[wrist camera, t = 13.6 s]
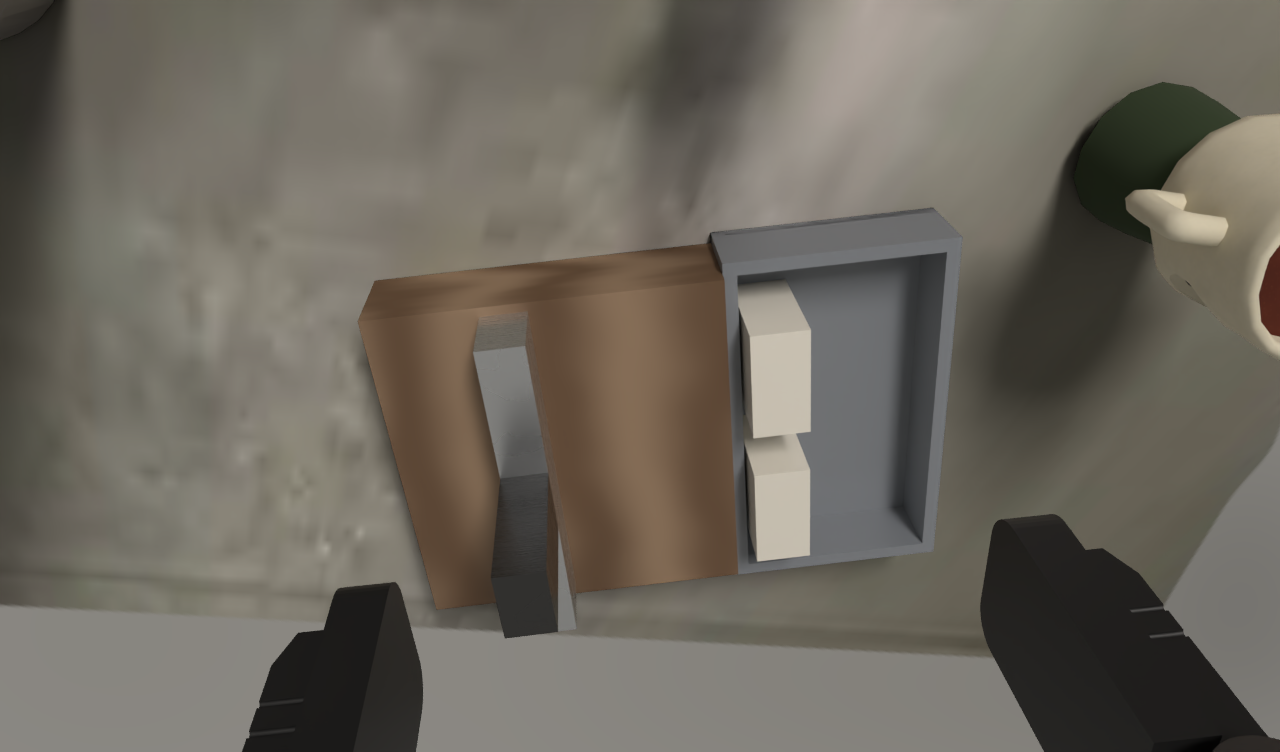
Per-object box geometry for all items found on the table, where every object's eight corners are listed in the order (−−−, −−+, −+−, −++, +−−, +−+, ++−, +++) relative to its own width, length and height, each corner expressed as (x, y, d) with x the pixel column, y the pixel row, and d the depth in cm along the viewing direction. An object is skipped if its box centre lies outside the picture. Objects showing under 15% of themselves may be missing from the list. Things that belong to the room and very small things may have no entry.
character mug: (994, 212, 42) (1153, 351, 30) (1054, 49, 38) (1259, 137, 27) (1211, 243, 43) (1439, 386, 32) (1288, 89, 40) (1574, 188, 29)
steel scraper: (535, 588, 45) (529, 743, 38) (479, 317, 38) (457, 440, 30) (575, 584, 46) (578, 737, 38) (527, 311, 38) (519, 433, 30)
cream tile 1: (753, 438, 40) (810, 431, 40) (750, 336, 38) (811, 329, 38) (734, 380, 44) (786, 374, 44) (730, 285, 42) (785, 279, 42)
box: (726, 529, 50) (736, 574, 47) (710, 232, 41) (722, 263, 38) (910, 508, 50) (933, 551, 47) (933, 207, 41) (962, 236, 38)
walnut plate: (445, 555, 49) (436, 609, 46) (374, 280, 41) (357, 321, 38) (725, 522, 49) (738, 574, 46) (710, 243, 41) (724, 280, 38)
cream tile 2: (757, 561, 44) (809, 555, 44) (754, 476, 41) (810, 469, 41) (739, 496, 48) (787, 490, 48) (736, 415, 45) (786, 409, 45)
